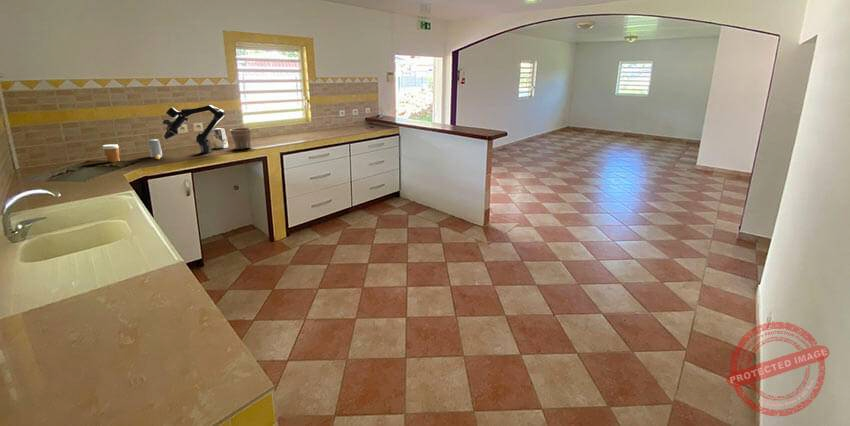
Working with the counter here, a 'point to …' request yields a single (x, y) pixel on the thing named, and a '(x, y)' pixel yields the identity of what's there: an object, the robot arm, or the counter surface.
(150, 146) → the white tapered cylinder
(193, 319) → the counter surface
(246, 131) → the plant pot
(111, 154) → the disposable coffee cup
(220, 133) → the coffee box
